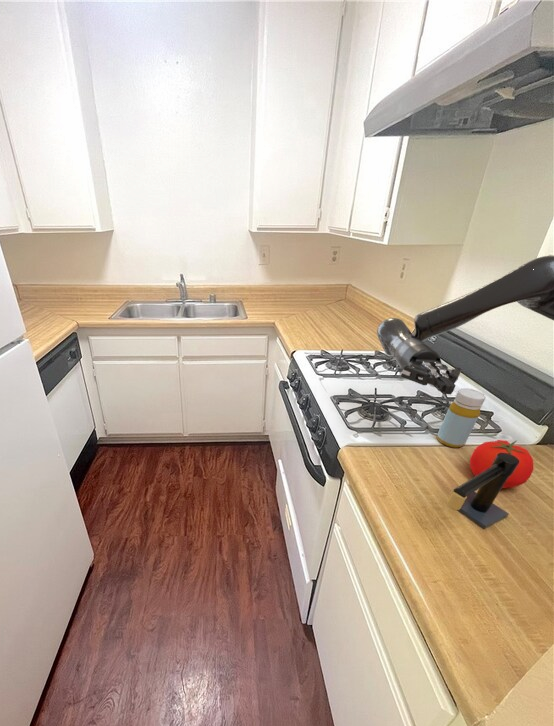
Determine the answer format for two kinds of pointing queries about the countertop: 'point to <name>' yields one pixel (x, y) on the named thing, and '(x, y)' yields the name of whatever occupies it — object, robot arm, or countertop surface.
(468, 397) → the bottle
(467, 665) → the countertop surface
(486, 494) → the faucet base
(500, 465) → the spout
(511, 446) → the tomato
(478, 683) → the countertop surface
